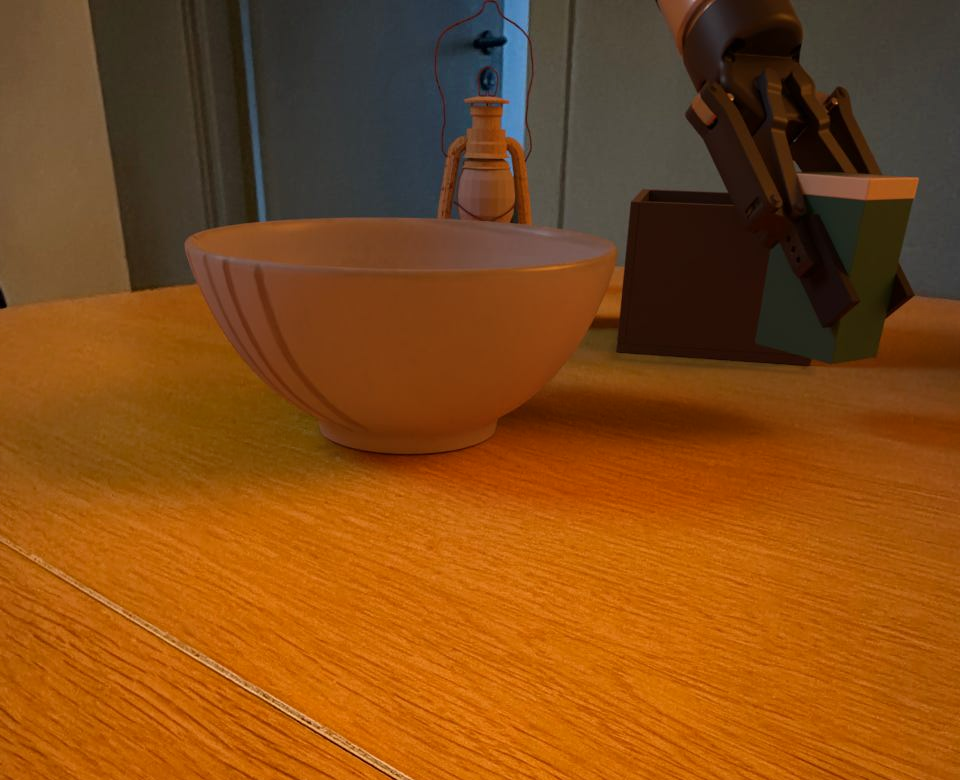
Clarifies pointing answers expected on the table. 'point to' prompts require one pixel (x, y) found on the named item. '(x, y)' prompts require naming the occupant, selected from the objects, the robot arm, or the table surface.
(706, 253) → the waste bin
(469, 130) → the lantern
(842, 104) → the robot arm
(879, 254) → the block
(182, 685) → the table surface
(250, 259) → the decorative bowl
